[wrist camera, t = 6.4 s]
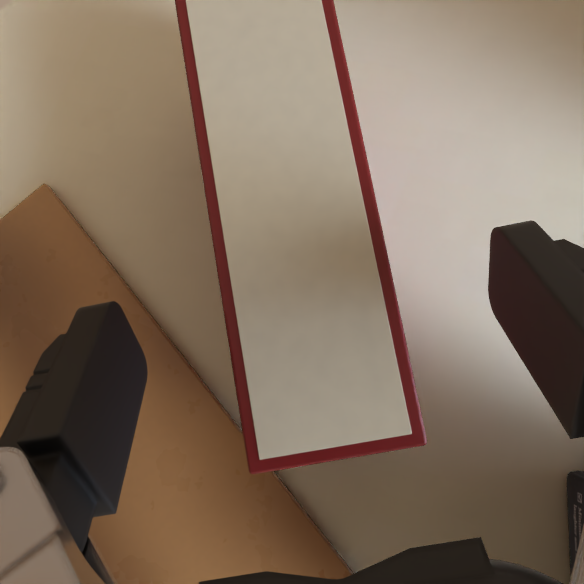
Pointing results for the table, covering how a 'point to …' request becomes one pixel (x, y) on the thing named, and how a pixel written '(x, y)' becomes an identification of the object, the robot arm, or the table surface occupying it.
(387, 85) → the table surface
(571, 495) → the box
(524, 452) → the table surface
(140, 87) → the table surface
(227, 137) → the red book
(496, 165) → the table surface
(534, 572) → the robot arm
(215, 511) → the copper sheet
